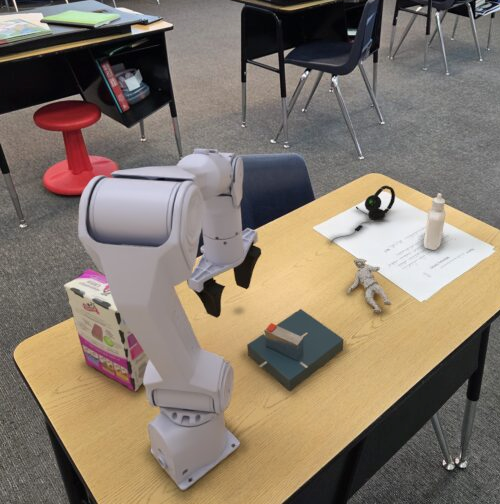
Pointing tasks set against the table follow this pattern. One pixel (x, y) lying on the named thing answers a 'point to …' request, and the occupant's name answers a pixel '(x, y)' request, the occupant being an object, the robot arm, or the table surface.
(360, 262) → the soldier figure
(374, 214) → the headset
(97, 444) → the table surface
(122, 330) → the candy bar box
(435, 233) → the eye dropper bottle
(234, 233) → the robot arm
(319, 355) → the tap console
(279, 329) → the tap handle
